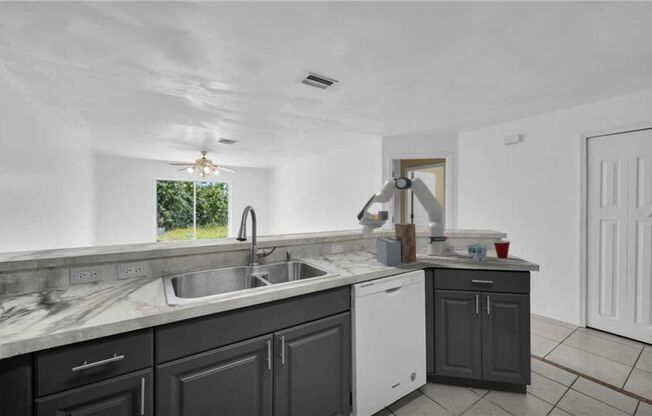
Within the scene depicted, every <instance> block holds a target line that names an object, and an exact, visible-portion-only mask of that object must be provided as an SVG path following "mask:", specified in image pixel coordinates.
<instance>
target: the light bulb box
mask: <svg viewBox="0 0 652 416" xmlns="http://www.w3.org/2000/svg"><path fill="white" fill-rule="evenodd" d="M467 251H468V252H467V256H468V258H467V259H468V261H469V262H470V261H471V262H475V263H477V262H479V263H480V262H483V261H484V262H485V261H487V259H488V258H487V244H484V243H483V244H482V243H472V244H468V245H467Z"/></svg>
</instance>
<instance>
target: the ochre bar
mask: <svg viewBox="0 0 652 416" xmlns="http://www.w3.org/2000/svg"><path fill="white" fill-rule="evenodd" d="M372 214H373V215H374V218H373V219H378V220H386V221H388V220H389V211H388V210H380V211H379V210H378V212H377V213H376V214H375V213H372Z"/></svg>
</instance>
